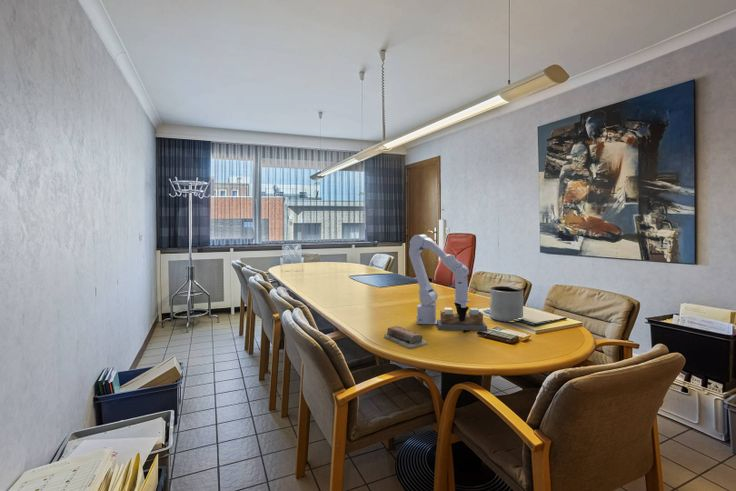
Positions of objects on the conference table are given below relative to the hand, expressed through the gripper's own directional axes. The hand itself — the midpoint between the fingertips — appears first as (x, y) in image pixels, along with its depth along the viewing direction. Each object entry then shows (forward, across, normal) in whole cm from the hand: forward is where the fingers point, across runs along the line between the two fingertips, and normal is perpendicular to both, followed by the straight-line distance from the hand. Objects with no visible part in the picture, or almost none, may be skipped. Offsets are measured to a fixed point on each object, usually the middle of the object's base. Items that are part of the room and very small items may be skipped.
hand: (461, 319), depth 175 cm
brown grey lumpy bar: (+2, 0, 0) cm, 2 cm away
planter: (+4, +16, -25) cm, 30 cm away
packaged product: (+4, -22, +26) cm, 35 cm away
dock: (+4, 0, 0) cm, 4 cm away
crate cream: (-2, 0, +6) cm, 6 cm away
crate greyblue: (-2, 0, -6) cm, 6 cm away
